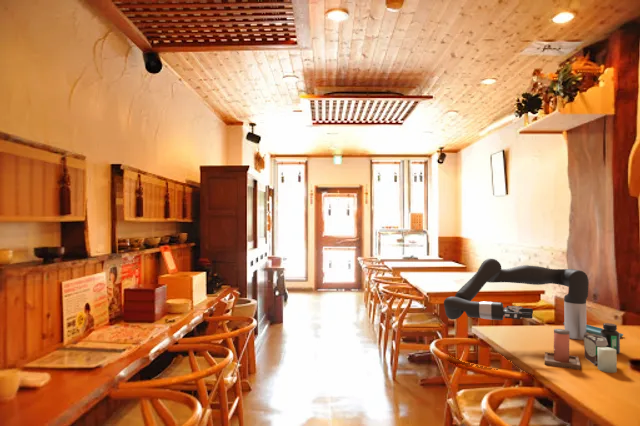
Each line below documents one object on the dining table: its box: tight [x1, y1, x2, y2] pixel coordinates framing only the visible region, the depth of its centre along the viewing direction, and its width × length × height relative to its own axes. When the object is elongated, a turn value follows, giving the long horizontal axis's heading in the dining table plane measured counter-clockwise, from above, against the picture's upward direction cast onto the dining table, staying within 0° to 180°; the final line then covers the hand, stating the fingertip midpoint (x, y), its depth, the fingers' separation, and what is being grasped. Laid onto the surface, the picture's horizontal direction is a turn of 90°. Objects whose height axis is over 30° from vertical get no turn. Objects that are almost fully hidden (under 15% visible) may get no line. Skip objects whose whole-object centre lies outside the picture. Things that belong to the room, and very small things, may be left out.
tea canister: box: [553, 328, 570, 363], centre depth 166 cm, size 6×6×12 cm
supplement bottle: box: [601, 322, 621, 355], centre depth 179 cm, size 7×7×12 cm
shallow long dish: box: [562, 322, 624, 338], centre depth 212 cm, size 26×9×2 cm, turn 21°
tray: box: [544, 351, 581, 371], centre depth 165 cm, size 12×12×2 cm
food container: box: [583, 333, 608, 367], centre depth 166 cm, size 12×6×10 cm, turn 168°
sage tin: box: [597, 347, 618, 374], centre depth 157 cm, size 6×6×8 cm
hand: (532, 313), depth 172 cm, fingers open, 8 cm apart
